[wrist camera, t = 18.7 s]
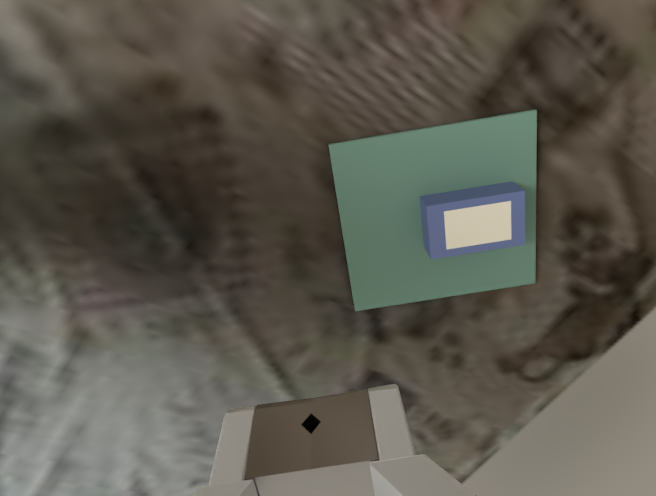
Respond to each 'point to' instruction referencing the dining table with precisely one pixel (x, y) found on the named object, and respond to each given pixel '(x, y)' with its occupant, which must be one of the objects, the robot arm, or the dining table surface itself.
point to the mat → (405, 212)
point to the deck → (473, 219)
